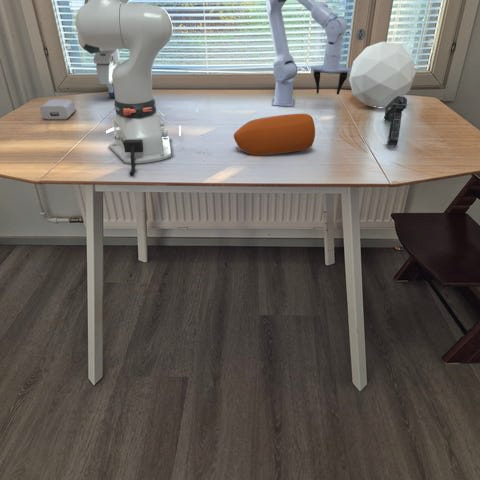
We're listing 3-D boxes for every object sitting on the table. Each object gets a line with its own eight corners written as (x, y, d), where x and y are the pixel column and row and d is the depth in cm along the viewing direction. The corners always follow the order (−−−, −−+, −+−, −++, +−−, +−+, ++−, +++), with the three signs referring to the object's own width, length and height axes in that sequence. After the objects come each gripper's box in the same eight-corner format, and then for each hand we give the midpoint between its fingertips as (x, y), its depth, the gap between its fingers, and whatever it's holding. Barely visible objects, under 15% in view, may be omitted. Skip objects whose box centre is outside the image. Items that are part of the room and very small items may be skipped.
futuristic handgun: (389, 146, 153) (397, 104, 149) (399, 145, 125) (409, 94, 122) (379, 144, 154) (386, 103, 150) (386, 144, 126) (395, 93, 122)
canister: (119, 94, 174) (118, 82, 171) (118, 97, 171) (116, 84, 168) (109, 94, 174) (107, 82, 171) (108, 97, 170) (106, 84, 167)
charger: (80, 107, 160) (68, 119, 148) (56, 106, 160) (42, 119, 148) (77, 94, 158) (65, 106, 145) (53, 94, 157) (39, 106, 145)
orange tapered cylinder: (237, 164, 122) (319, 153, 123) (234, 130, 116) (319, 118, 117) (233, 149, 132) (309, 139, 133) (230, 116, 126) (309, 106, 127)
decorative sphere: (334, 74, 174) (357, 27, 150) (388, 72, 178) (419, 26, 154) (346, 121, 167) (373, 80, 143) (402, 118, 171) (437, 78, 147)
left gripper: (107, 50, 172) (112, 84, 180) (91, 60, 155) (98, 97, 163) (122, 50, 172) (127, 84, 180) (108, 60, 155) (114, 97, 163)
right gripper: (312, 56, 146) (308, 95, 154) (353, 58, 144) (347, 97, 152) (312, 52, 152) (308, 90, 159) (352, 54, 150) (346, 92, 158)
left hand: (113, 90), depth 171 cm, fingers closed on canister, 4 cm apart
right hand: (327, 93), depth 156 cm, fingers open, 7 cm apart
